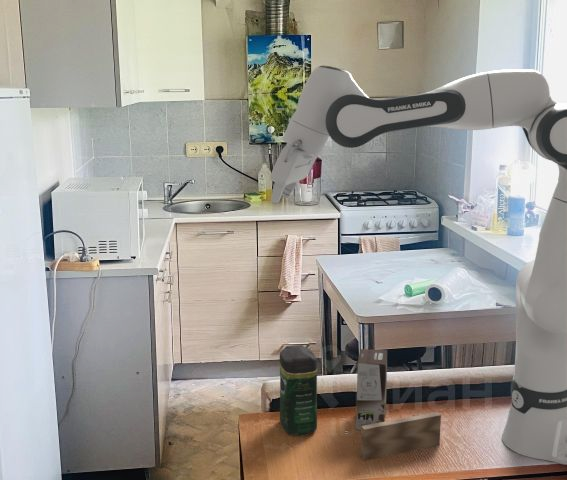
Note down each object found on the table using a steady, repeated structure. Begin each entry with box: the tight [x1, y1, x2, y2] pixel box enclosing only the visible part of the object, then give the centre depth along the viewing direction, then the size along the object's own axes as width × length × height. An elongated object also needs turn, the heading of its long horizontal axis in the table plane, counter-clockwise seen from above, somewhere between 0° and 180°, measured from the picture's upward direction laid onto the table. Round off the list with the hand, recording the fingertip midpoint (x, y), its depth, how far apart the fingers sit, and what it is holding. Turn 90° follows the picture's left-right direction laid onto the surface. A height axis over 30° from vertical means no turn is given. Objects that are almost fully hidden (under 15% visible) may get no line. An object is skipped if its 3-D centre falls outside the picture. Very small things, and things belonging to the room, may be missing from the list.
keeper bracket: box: [360, 411, 442, 461], centre depth 146 cm, size 18×6×7 cm, turn 109°
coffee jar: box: [279, 344, 318, 437], centre depth 154 cm, size 10×8×19 cm
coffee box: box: [355, 348, 388, 431], centre depth 156 cm, size 9×6×16 cm
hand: (279, 199), depth 148 cm, fingers open, 8 cm apart
